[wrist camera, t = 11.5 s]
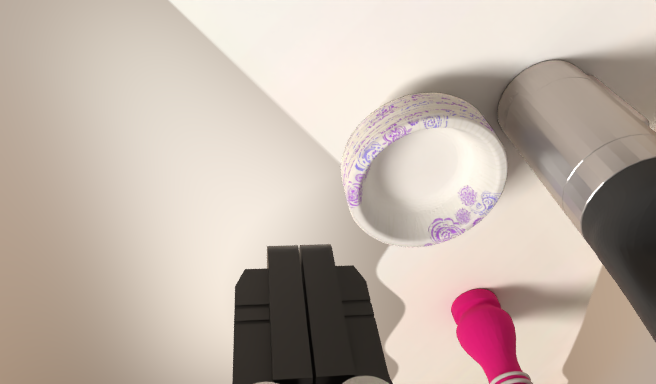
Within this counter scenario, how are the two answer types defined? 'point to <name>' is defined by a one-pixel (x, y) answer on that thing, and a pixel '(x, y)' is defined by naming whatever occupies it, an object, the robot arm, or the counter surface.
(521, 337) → the counter surface
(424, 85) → the counter surface
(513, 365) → the pepper mill
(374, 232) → the paper bowls
